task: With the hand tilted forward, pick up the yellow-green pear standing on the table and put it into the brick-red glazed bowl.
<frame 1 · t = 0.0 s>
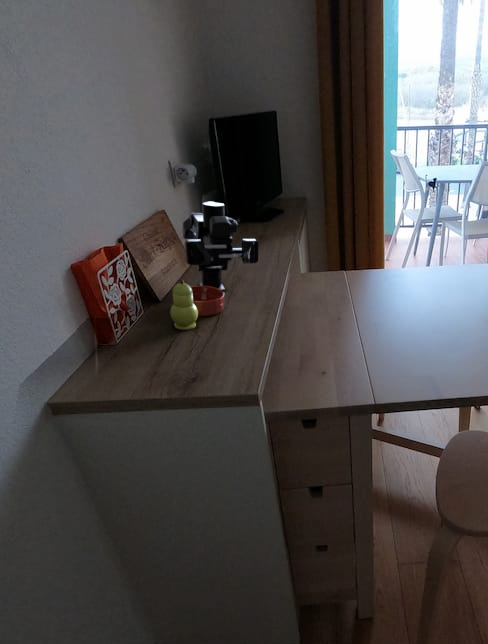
hand: (230, 261, 116), 16 cm above the table, tool horizontal, fingers open, 9 cm apart
bowl: (201, 308, 129), on the table
pear: (185, 325, 118), on the table
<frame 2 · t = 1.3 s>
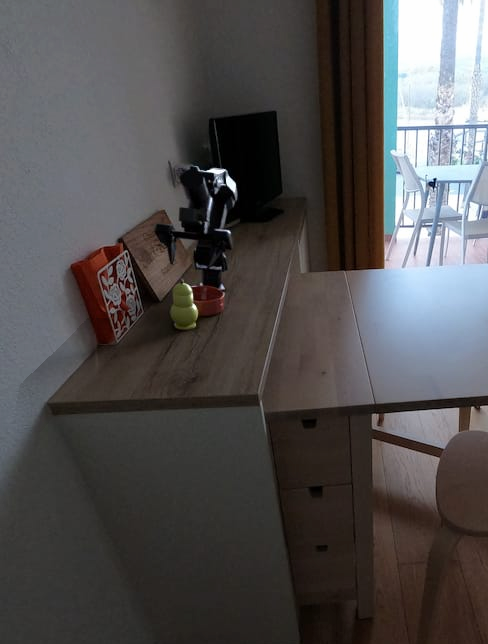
hand: (189, 265, 117), 14 cm above the table, tool tilted 45°, fingers open, 9 cm apart
nothing on the table moved.
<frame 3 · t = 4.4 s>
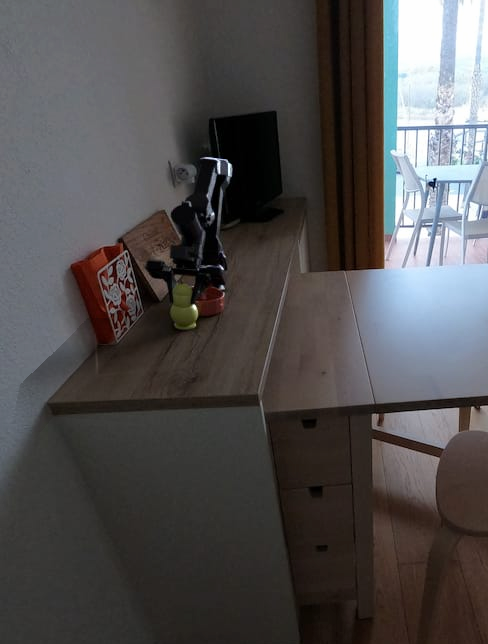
hand: (181, 303, 114), 7 cm above the table, tool tilted 45°, fingers closed on pear, 4 cm apart
pear: (185, 325, 118), on the table, touching gripper
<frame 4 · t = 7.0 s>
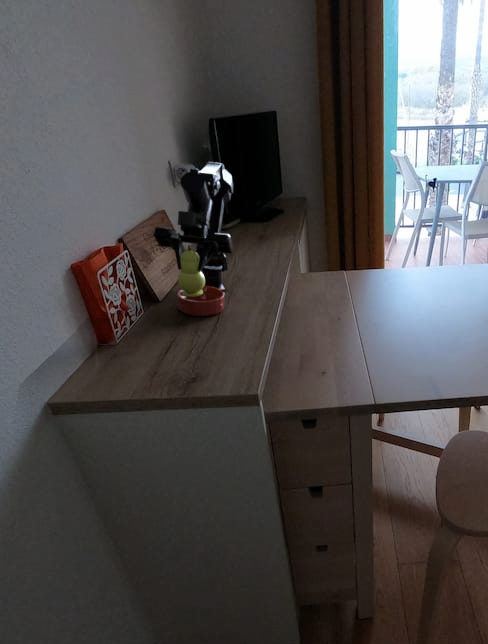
hand: (189, 270, 116), 13 cm above the table, tool tilted 45°, fingers closed on pear, 4 cm apart
pear: (192, 292, 120), point 7 cm above the table, touching gripper
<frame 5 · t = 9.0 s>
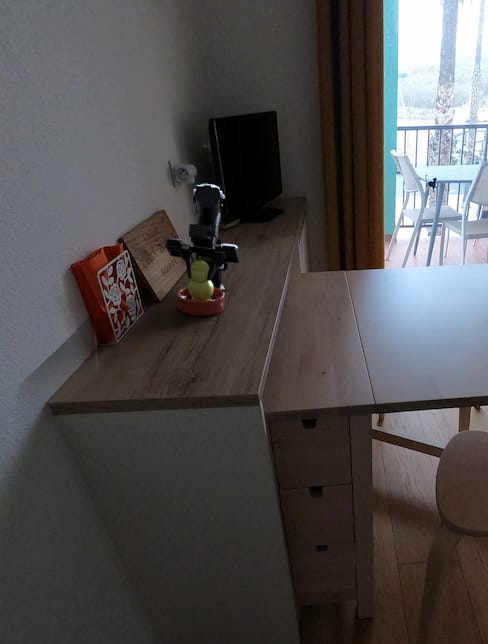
hand: (198, 279, 123), 9 cm above the table, tool tilted 45°, fingers closed on pear, 4 cm apart
pear: (201, 300, 127), point 2 cm above the table, touching gripper
when the fingers open (7 cm above the table, at t = 10.0 s): pear stays where it is, resting on bowl.
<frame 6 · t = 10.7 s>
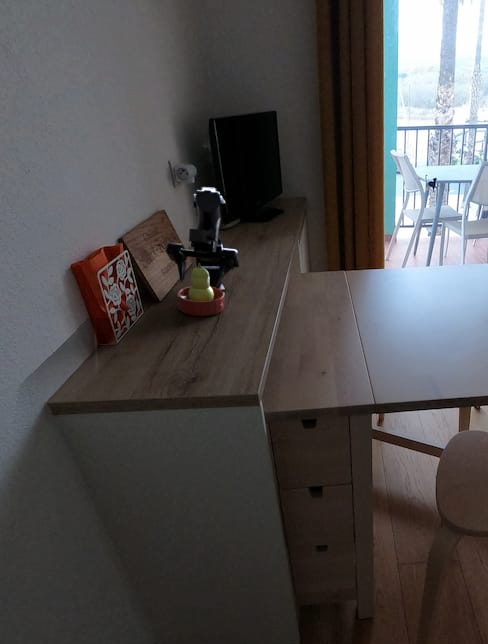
hand: (199, 283, 123), 8 cm above the table, tool tilted 45°, fingers open, 9 cm apart
pear: (201, 306, 128), point 1 cm above the table, touching bowl
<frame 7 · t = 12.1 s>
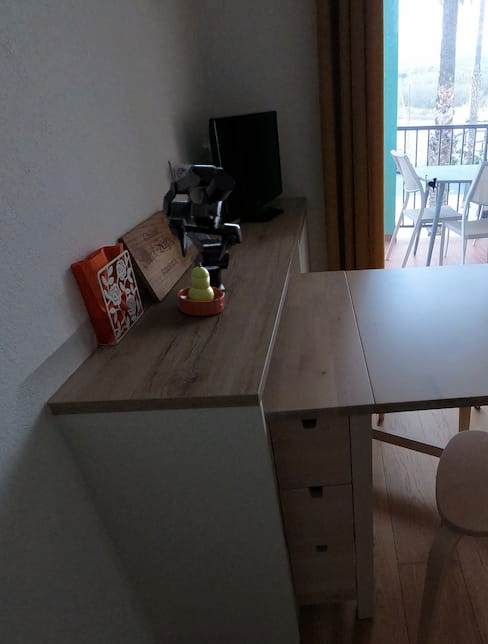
hand: (201, 258, 124), 14 cm above the table, tool tilted 45°, fingers open, 9 cm apart
nothing on the table moved.
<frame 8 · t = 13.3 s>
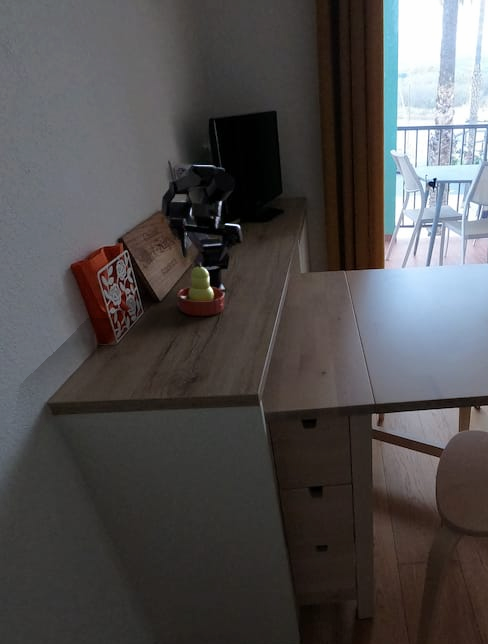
hand: (201, 258, 124), 14 cm above the table, tool tilted 45°, fingers open, 9 cm apart
nothing on the table moved.
at the end: pear inside the target area in the bowl (0.1 cm from its centre), point 0.6 cm above the bowl's base; the gripper is holding nothing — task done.
